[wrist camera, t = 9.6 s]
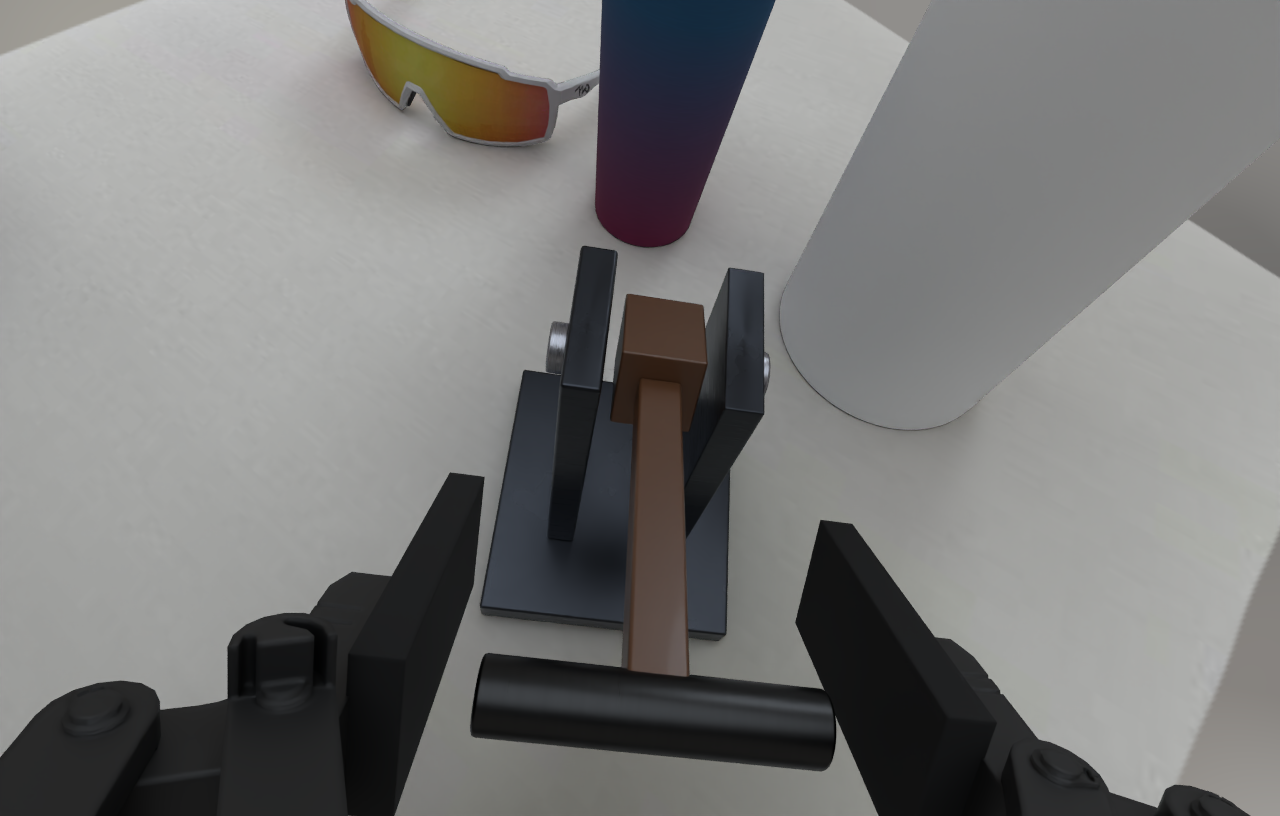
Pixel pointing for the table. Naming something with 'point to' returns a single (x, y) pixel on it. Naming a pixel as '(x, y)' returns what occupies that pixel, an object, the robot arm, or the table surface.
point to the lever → (655, 603)
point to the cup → (666, 107)
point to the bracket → (618, 465)
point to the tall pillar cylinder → (1019, 187)
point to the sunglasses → (460, 83)
